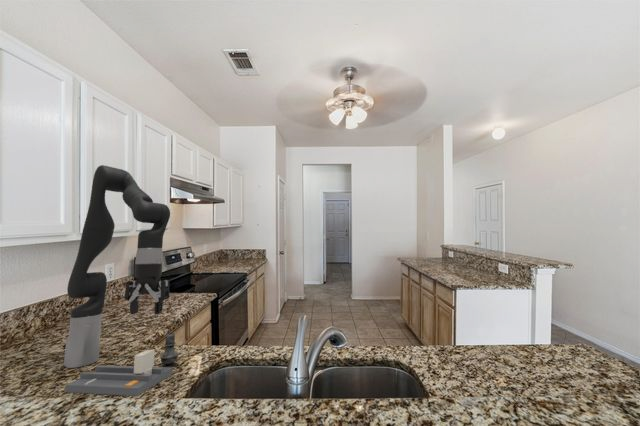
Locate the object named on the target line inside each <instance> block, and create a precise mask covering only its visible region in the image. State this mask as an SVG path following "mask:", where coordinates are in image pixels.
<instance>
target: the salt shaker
mask: <svg viewBox="0 0 640 426" xmlns="http://www.w3.org/2000/svg"><path fill="white" fill-rule="evenodd" d="M175 337H176V335H175V333H173V332H172V329H171V330H169V332H168V333H167V334H166V335H165V343H164V345H163V346H164V352H163V354H161V355H160V357H159V359H160V361H161V366H160V367H173V368H175V367H177V365H178V363H177V359H178V356H179V352H177V351H176V350H175V346H176V342H175ZM176 363H177V364H176Z"/></svg>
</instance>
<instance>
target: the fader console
mask: <svg viewBox="0 0 640 426" xmlns="http://www.w3.org/2000/svg"><path fill="white" fill-rule="evenodd" d="M173 370H174V367H161V366H154V367H152V374H136V373H134V365H111V364H110V365H97V366H95V370H94V371H83V372H81V373H80V374H79V378H78V379H76V380H74V381H71V382H69V383H67V384H66V385H65V389H64V392H65V393H67V394H70V393H71V394H88V395H89V394H91V395H105V396H106V395H108V396H109V395H110V396H128V397H129V396H132V397H138V396H140V395H142V394H143V393H145V392H146V391H148V390H149V389H151V388H153V387H155V385H158V384H160V383H161V382H162V381H163V380H166V379H167V378H168V377H170V376H171V375H173Z"/></svg>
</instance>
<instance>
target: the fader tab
mask: <svg viewBox="0 0 640 426" xmlns="http://www.w3.org/2000/svg"><path fill="white" fill-rule="evenodd" d="M155 351H156V350H155V349H146V350H144V351H141V352H139V353H137V354H135V355H134V362H133V366H134V373H136V374H152V367H155Z"/></svg>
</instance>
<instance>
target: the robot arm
mask: <svg viewBox="0 0 640 426" xmlns="http://www.w3.org/2000/svg"><path fill="white" fill-rule="evenodd" d="M106 191H107V192H115V193H122V201H123V202H124V203H125V204H126V206H127V207H128V208H130V210H131V212H132V216H133V218H134V219H135V221H137V222H139V223H144V224H153V226H152V227H151V229H146V230H141V231H139V233H138V235H137V236H138V237H137V248H136V249H137V250H136V255H135V263H134V278H135V279H134V280H133V279H132V280H127V281H126V283H125V291H124V300H125V301H129V312H130V315H136V314H138V312H139V303H140V301H139V300H140V299H141V297H142V296H143V295H147V296H149V295H150V297H152V298H153V299H154V301H155V302H154V309H153V312H154V313H153V314H154V315H160V314H162V312H163V310H164V309H163V307H164V301H166V300H169V299H170V280H169V279H164V280H161V276H162V273H163V258H164V257H163V256H164V254H163V244H164V243H163V242H164V234H165V231H166V228H167V226H168V223H169V220H170V218H171V210H170V208H169V207H168V205H167V204H164V203H159V202H154V200H153V199H152V198H151V196H150V195H148V194H147V193H146V192H145V191H143V189H141V188H140V186H139V185H138V183H137V182H136V180H135V178H134V177H133V176H132V175H131V174H130V172H129V171H127V170H124V169H121V168H116V167H113V166H108V165H104V164H102V165H99V166H97V167H96V169H95V172H94V174H93V179H92V185H91V192H90V200H89V204H88V211H87V213H86V217H85V220H84V224H83V228H82V231H81V237H80V242H79V246H78V251H77V256H76V259H75V261H74V265H73V268H72V271H71V273H70V277H69V280H68V284H67V295H68V297H69V298H71V299H82V298H88V300H87V301H86V302H84V303H82V304H81V305H79V306H77V307H74V308H73V309H72V310H71V311H70V318H69V321H70V322H69V331H68V337H67V338H66V339H65V350H64V359H63V366H64V367H65V368H67V369H73V368H81V367H85V366H88V365H89V366H90V365H92V364H94V363H96V362H98V361H99V357H100V347H101V346H100V345H101V344H100V343H101V335H102V334H101V332H102V331H101V330H102V318H103V317H102V316H103V308H104V306H105V301H106V300H105V298H106V291H107V285H108V279H107V274H105V272H102V271H97V272H88V271H89V268H90V267H91V264H92V263H93V262H94V260H95V259H96V258H98V256H99V255H100V254H101V253H102V252H104V250H106V248H107V247H108V246H109V245H110V244H111V243H112V240H113V235H114V231H115V230H114V229H115V221H114V219H113V217H112V215H111V213H110V211H109V208H108V206H107V204H106Z"/></svg>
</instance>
